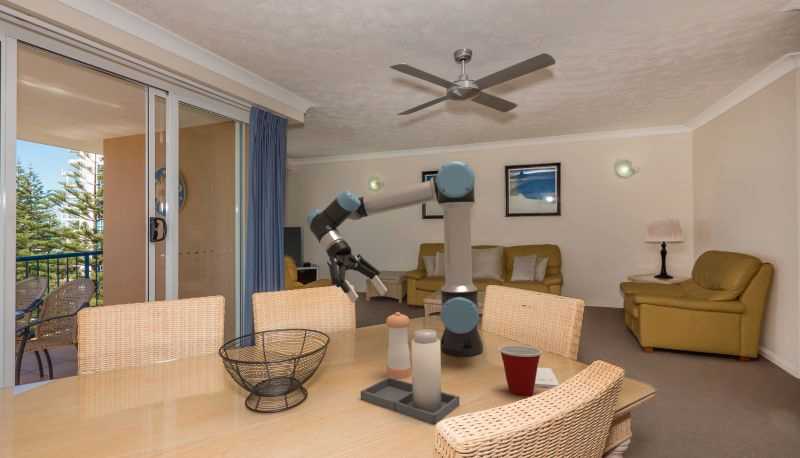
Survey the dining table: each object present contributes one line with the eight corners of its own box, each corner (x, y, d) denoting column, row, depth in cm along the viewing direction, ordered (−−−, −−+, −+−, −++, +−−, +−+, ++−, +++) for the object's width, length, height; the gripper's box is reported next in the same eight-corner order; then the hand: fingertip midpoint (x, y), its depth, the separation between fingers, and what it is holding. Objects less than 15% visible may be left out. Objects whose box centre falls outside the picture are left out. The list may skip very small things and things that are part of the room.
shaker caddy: (388, 387, 104) (388, 376, 104) (459, 409, 91) (459, 396, 91) (360, 403, 95) (360, 391, 95) (434, 429, 82) (434, 415, 82)
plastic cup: (542, 388, 102) (541, 343, 102) (543, 406, 92) (542, 356, 92) (500, 383, 106) (500, 340, 106) (497, 400, 95) (496, 352, 95)
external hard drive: (551, 373, 114) (560, 390, 102) (522, 372, 116) (528, 388, 103) (551, 368, 114) (560, 384, 102) (522, 366, 116) (528, 382, 103)
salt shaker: (423, 398, 95) (421, 326, 95) (446, 406, 91) (445, 330, 91) (407, 409, 89) (405, 333, 90) (431, 417, 85) (430, 337, 85)
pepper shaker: (415, 374, 113) (414, 310, 113) (405, 384, 107) (404, 315, 107) (393, 371, 116) (392, 309, 116) (382, 380, 110) (381, 314, 110)
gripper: (356, 252, 138) (389, 297, 129) (301, 257, 119) (335, 311, 109) (367, 238, 135) (401, 283, 126) (311, 240, 115) (347, 294, 106)
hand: (370, 296), depth 118 cm, fingers open, 13 cm apart
